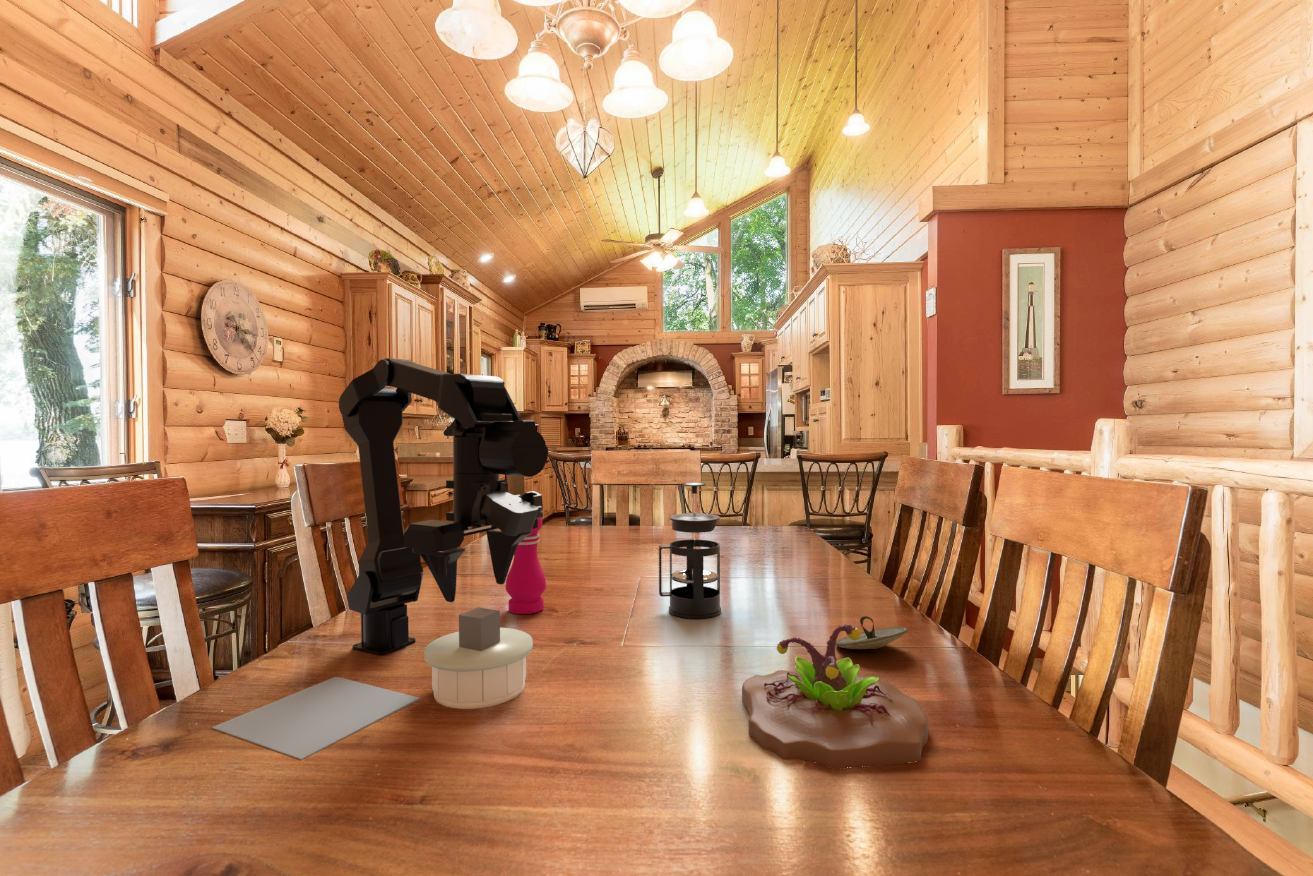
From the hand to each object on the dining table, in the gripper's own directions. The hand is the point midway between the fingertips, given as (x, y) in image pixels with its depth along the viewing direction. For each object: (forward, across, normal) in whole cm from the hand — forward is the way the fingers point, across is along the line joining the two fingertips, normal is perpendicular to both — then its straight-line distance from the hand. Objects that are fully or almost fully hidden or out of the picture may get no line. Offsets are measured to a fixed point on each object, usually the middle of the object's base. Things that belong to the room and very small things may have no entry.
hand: (476, 592), depth 80 cm
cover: (+7, -2, -2) cm, 7 cm away
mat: (+12, -15, +9) cm, 21 cm away
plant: (+12, +9, -44) cm, 46 cm away
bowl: (+12, -2, -2) cm, 12 cm away
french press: (+12, +40, -13) cm, 44 cm away
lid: (+11, +34, -45) cm, 57 cm away
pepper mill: (+12, +28, +14) cm, 33 cm away
